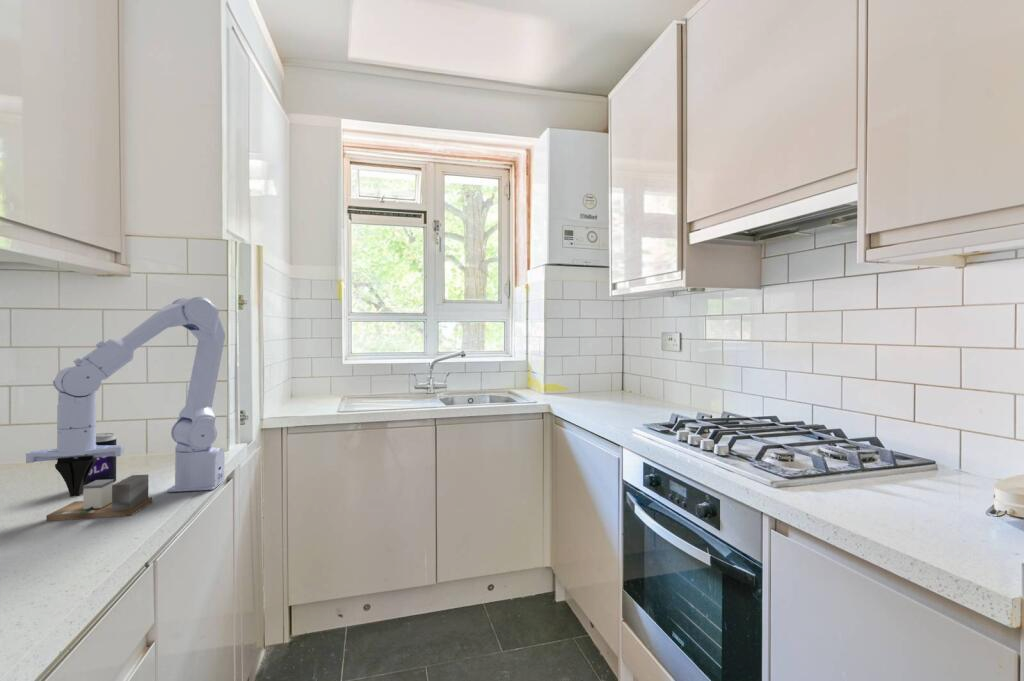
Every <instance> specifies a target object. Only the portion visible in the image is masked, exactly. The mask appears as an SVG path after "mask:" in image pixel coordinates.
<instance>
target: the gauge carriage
mask: <svg viewBox="0 0 1024 681" xmlns="http://www.w3.org/2000/svg"><path fill="white" fill-rule="evenodd" d="M113 482H114V479H109V480H95V481H93V482H91V483H89V484H87V485H84V486H83V494H82V496H83V497H82V498H83V500H82V501H83V509H86V511H89V510H91V509H93V508H102V507H104V506H106V505H108V504H109V503H111V502H112V485H114V483H115V482H114V483H113Z"/></svg>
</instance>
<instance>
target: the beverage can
mask: <svg viewBox="0 0 1024 681" xmlns="http://www.w3.org/2000/svg"><path fill="white" fill-rule="evenodd" d="M96 445H117V437H116V436H115V433H114V432H102V433H96ZM86 455H88V454H86ZM109 479H114V482H113V484H115V482H117V457H115V456H107V457H97V460H96V462H95V463H94V465H93V467H92V468H91V470H90V472H89V474H88V477H87V479H86V482H85V485H87V484H89V483H91V482H93V481H95V480H109ZM85 485H84V486H85Z"/></svg>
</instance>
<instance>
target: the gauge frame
mask: <svg viewBox="0 0 1024 681" xmlns="http://www.w3.org/2000/svg"><path fill="white" fill-rule="evenodd" d="M152 503H153V497H152V496H151V497H150V496H149V474H134V475H133V474H131V475H130V476H127V477H126V478H123V479H122V480H119V481H118V482H116V483H113V485H112V502H111V503H109V504H108V505H106V506H104V507H102V508H93V509H91V510H89V511H86V509H83V500H79V501H78V500H76V501H73V502H70V503H69V504H67V505H65V506H63V507H61V508H59V509H57V510H55V511H53V512H51V513H49V514H47V515H46V522H47V521H48V522H49V521H50V522H51V521H64V520H65V519H67V520H76V519H75V518H84V519H96V518H95V517H101V518H109V517H108V516H117V517H124V516H123V515H131V516H133V515H134V514H136V513H137V512H136V511H138V510H139V509H141V508H142V509H144V508H145V507H147V506H149V505H150V504H152ZM146 505H147V506H146ZM143 507H144V508H143ZM142 509H141V510H142ZM139 511H140V510H139ZM139 511H138V512H139ZM135 512H136V513H135ZM133 513H134V514H133ZM132 514H133V515H132Z"/></svg>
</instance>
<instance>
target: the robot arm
mask: <svg viewBox="0 0 1024 681" xmlns="http://www.w3.org/2000/svg"><path fill="white" fill-rule="evenodd" d="M219 315H220V310H219V308H218V307H217V306H216V305H215V304H214V303H213V302H212V301H211V299H209V298H206V297H204V296H195V297H189V298H188V297H186V298H185V297H181V298H176V299H175V300H174V301H173V302H172V303H171V304H167V305H164V306H163V307H162V308H160V309H159V310H157V311H156V312H155V313H154V314H152V315H151V316H149V318H147V319H145V320H144V321H143V322H142V323H141V324H139V325H138V326H137V327H135V328H134V329H133V330H131V331H130V332H129V333H127V334H126V335H125V336H124V337H122V338H121V339H116V338H115V339H112V338H111V339H107V340H106V341H104V340H100V341H99V342H97V343H95V346H96V348H94V350H92V351H90V352H89V353H88V354H86V355H85V356H83V357H82V358H76V359H74V360H73V364H74V365H72V366H66V367H64V368H62V369H61V370H60V371H58V372H57V374H56V376H55V378H54V380H52V384H53V387H54V388H55V390H56V391H57V392H58V393H57V394H58V395H57V406H56V407H57V408H56V409H57V410H56V411H57V413H56V415H57V416H56V423H57V424H56V429H57V431H56V441H57V442H56V448H50V449H41V450H30V451H28V452H26V453H25V463H26V464H32V463H35V462H36V463H37V462H48V461H49V462H50V461H57V462H56V463H55V464H54V468H55V469H56V471H57V472H58V473H59V474H60V476H61V478H63V481H64V482H65V485H66V487H67V490H68V494H69V497H70V498H73V497H80V496H81V495H84V489H83V486H85V482H86V479H87V477H88V474H89V472H90V470H91V468H92V467H93V465H94V463H95V462H96V460H97V457H107V456H115V457H116V458H117V457H121V456H123V455H124V450H125V447H124V446H125V445H124V444H116V445H96V434H97V425H96V424H97V421H96V420H97V419H96V418H97V402H96V391H98V390H99V389H100V387H101V385H102V381H105V380H107V379H108V378H110V377H111V376H112V375H114V374H115V373H116V372H118V371H119V370H120V369H121V368H123V367H124V366H126V365H127V364H128V363H130V362H132V361H133V360H134V354H135V350H137V349H138V348H140V347H142V346H143V345H144V344H146V343H147V342H148V341H150V340H152V339H153V338H155V337H156V336H159V334H160V333H162V332H164V331H165V330H167V329H169V328H174V327H179V326H180V327H181V326H182V327H183V328H184V329H186V330H188V331H189V332H190V333H191V334H192V335H193V337H195V338H196V339H197V345H196V350H195V355H194V359H193V366H192V370H191V376H190V380H189V384H188V391H187V396H186V400H185V405H184V407H183V408H182V410H180V411H179V413H178V418H177V420H176V422H175V423H174V424H173V426H172V427H171V431H170V435H171V438H172V440H173V441H174V442H175V443H176V446H175V449H174V484H173V486H171V487H169V488H168V489H166V492H167V493H172V492H173V493H174V492H193V491H195V492H197V491H211V490H215V489H216V488H217V487H218V486H219V485H222V483H224V482H225V481H226V478H225V451H224V449H223V448H222V447H213V444H214V442H216V439H217V435H218V432H217V431H218V430H217V428H216V415H215V413H214V411H213V408H212V407H213V403H214V399H215V398H214V397H215V392H216V388H217V381H218V377H219V372H220V367H221V361H222V357H223V356H222V355H223V350H224V344H225V340H226V333H225V330H224V326H223V324H222V321H221V318H220V316H219ZM86 454H88V455H86Z"/></svg>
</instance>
